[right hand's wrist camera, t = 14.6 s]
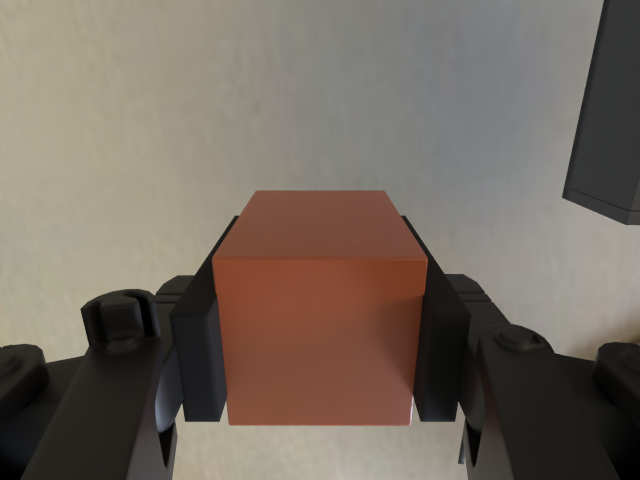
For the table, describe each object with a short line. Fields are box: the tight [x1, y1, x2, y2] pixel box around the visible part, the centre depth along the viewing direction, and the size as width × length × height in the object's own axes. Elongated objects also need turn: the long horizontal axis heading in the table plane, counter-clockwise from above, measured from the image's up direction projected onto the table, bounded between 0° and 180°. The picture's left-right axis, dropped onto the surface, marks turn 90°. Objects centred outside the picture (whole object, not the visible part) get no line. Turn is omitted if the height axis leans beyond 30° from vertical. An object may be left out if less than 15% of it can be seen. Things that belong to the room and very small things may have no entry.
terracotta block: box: [212, 191, 428, 426], centre depth 12 cm, size 4×4×6 cm
